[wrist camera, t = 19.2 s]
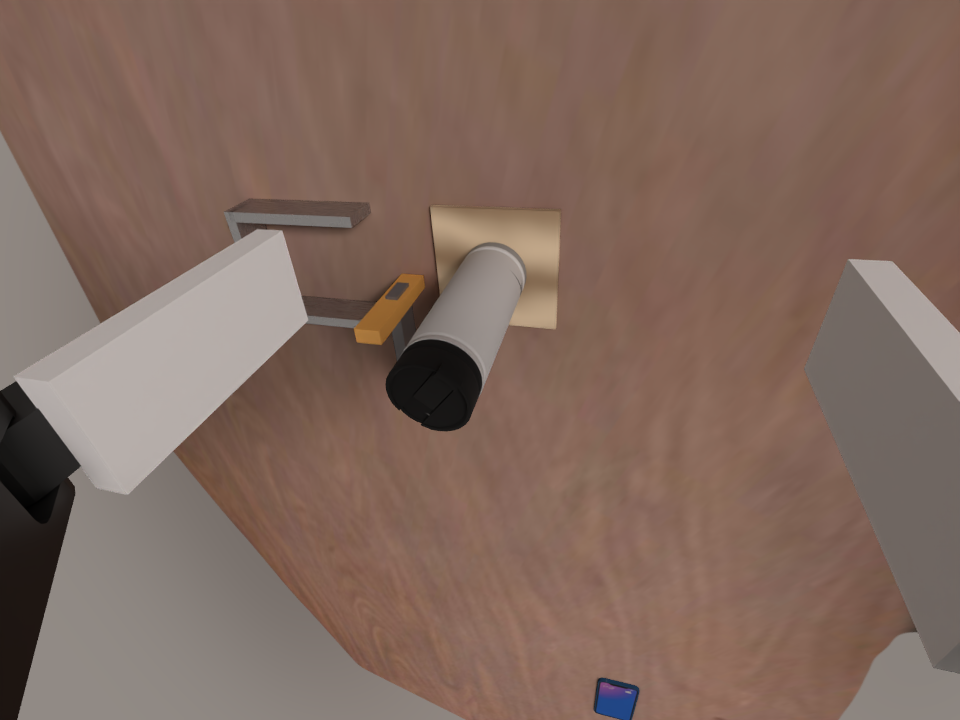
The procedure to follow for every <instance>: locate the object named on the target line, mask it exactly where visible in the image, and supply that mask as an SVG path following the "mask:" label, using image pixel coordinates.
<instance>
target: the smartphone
mask: <svg viewBox="0 0 960 720" xmlns="http://www.w3.org/2000/svg"><path fill="white" fill-rule="evenodd" d="M618 686H619V687H618ZM638 695H639V688H638V687H637V686H635V685H631V684H627V683H623V682H619V681H615V680H610V679H606V678H599V679H598V686H597V690H596V699H595V706H594V711H595V712H596V713H598V714H601V715H605V716H609V717H613V718H617V719H620V720H632V717H633V713H634V710H635V706H636V702H637V699H638Z"/></svg>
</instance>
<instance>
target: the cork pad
mask: <svg viewBox="0 0 960 720" xmlns="http://www.w3.org/2000/svg"><path fill="white" fill-rule="evenodd" d="M430 211H431V220H432V228H433V237H434V246H435V255H436V264H437V273H438V282H439V291H440V295H441V293H442V292H443V290H444V289H445V287H446V286H447V284H448V283H449V281H450V280H451V278H452V277H453V275H454V274H455V273H456V271H457V270H458V268H459V267H460V265H461V264H462V262H463V261H464V259H465V258H466V256H467V255H468V253H469V252H470V251H471V250H472V249H473V248H474V247H476V246H478V245H480V244H483V243H488V242H496V243H501V244H504V245H506V246H508V247H510V248H511V249H513V250H514V251H515V252H516V253H517V254H518V255H519V256H520V257H521V259H522V260H523V262H524V264H525V268H526V275H527V278H526V283H525V285H524V288H523V290H522V293H521V295H520V298H519V300H518V303H517V305H516V308H515V310H514V313H513V315H512V318H511V320H510V323H509V325H514V326H525V327H536V328H547V329H556V325H557V301H558V276H559V252H560V228H561V209H539V208H509V207H479V206H449V205H432V206H431V207H430Z"/></svg>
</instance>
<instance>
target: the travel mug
mask: <svg viewBox="0 0 960 720" xmlns="http://www.w3.org/2000/svg"><path fill="white" fill-rule="evenodd" d="M526 278H527V275H526V268H525V264H524V262H523V260H522V259H521V257H520V256H519V255H518V254H517V253H516V252H515V251H514V250H513V249H511V248H510V247H508V246H506V245H504V244H501V243H496V242H488V243H483V244H480V245H478V246H476V247H474V248H473V249H472V250H471V251H470V252H469V253H468V255H467V256H466V258H465V259H464V261H463V262H462V264H461V265H460V267H459V268H458V270H457V271H456V273H455V274H454V275H453V277H452V278H451V280H450V281H449V283H448V284H447V286H446V287H445V289H444V290H443V292H442V293H441V295H440V296H439V298H438V299H437V301H436V302H435V304H434V305H433V307H432V308H431V310H430V311H429V313H428V314H427V316H426V317H425V319H424V320H423V322H422V323H421V325H420V326H419V328H418V329H417V331H416V332H415V334H414V335H413V337H412V338H411V340H410V341H409V343H408V345H407V346H406V347H405V349H404V350H403V352H402V354H401V356H400V358H399V359H398V361H397V362H396V364H395V365H394V367H393V368H392V370H391V371H390V373H389V375H388V376H387V379H386V391H387V394H388V397H389V399H390V400H391V402H392V403H393V404H394V405H395V407H396V408H397V409H398V410H400V409H401V410H402V411H403V413H405V414H406V415H407V416H409V417H410V418H412V419H413V420H415V421H417V422H420V423H422V424H421V425H422V426H424V427H426V428H429V429H431V430H437V431H453V430H456V429H459V428H461V427H463V426H464V425H466V423H467V422H468V421H469V419H470V417H471V414H472V412H473V409H474V407H475V404H476V402H477V400H478V397H479V396H480V394H481V392H482V389H483V387H484V384H485V382H486V379H487V377H488V375H489V372H490V370H491V367H492V365H493V362H494V360H495V357H496V355H497V352H498V350H499V347H500V345H501V342H502V340H503V337H504V335H505V332H506V330H507V327H508V325H509V323H510V320H511V318H512V315H513V313H514V310H515V308H516V305H517V303H518V300H519V298H520V295H521V293H522V290H523V288H524V285H525V283H526Z"/></svg>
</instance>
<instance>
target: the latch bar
mask: <svg viewBox="0 0 960 720" xmlns="http://www.w3.org/2000/svg"><path fill="white" fill-rule="evenodd" d="M424 288H425V283H424V275H413V274H401V275H400V276H399V278H398V279H397V280H396V281H395V282H394V283H393V284H392V286H391V287H390V288H389V289H388V290H387V291H386V292H385V294H384V295H383V296H382V297H381V298H380V299H379V300H378V302H377V303H376V304H375V305H374V306H373V307H372V308H371V310H370V311H369V312H368V313H367V314H366V315H365V316H364V318H363V319H362V320H361V321H360V322H359V323H358V324H357V326H356V327H355V328H354V332H355V336H356V341H357V342H359V343H368V344H377V345H382V344H383V343H384V341H385V340H386V339H387V337H388V336H389V335H390V334H391V332H392V336H393V342H394V347H395V352H396V358H397V361H398V359H399V358H400V356H401V354H402V352H403V350H404V349H405V347H406V346H407V345H408V343H409V341H410V340H411V338H412V337H413V335H414V334H415V332H416V328H415V322H414V315H413V308H412V304H413V303H414V302H415V300H416V299H417V298H418V296H419V295H420V294H421V292H422V291H423V290H424Z"/></svg>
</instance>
